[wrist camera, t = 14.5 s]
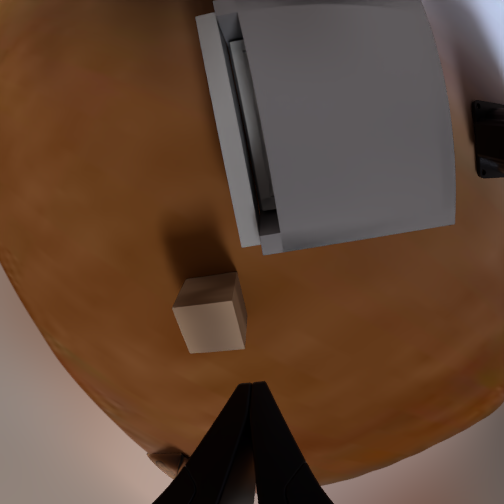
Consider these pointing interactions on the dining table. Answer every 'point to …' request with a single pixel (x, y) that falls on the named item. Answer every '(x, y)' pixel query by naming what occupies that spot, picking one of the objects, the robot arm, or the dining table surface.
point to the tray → (237, 127)
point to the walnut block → (212, 313)
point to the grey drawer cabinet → (346, 118)
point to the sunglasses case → (169, 463)
